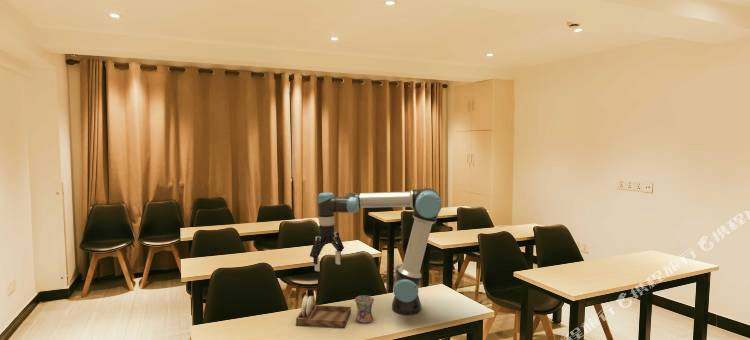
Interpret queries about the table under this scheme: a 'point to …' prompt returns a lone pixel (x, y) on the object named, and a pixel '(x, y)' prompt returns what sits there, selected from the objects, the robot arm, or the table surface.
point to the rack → (325, 317)
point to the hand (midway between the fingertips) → (327, 267)
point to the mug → (364, 308)
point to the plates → (307, 306)
